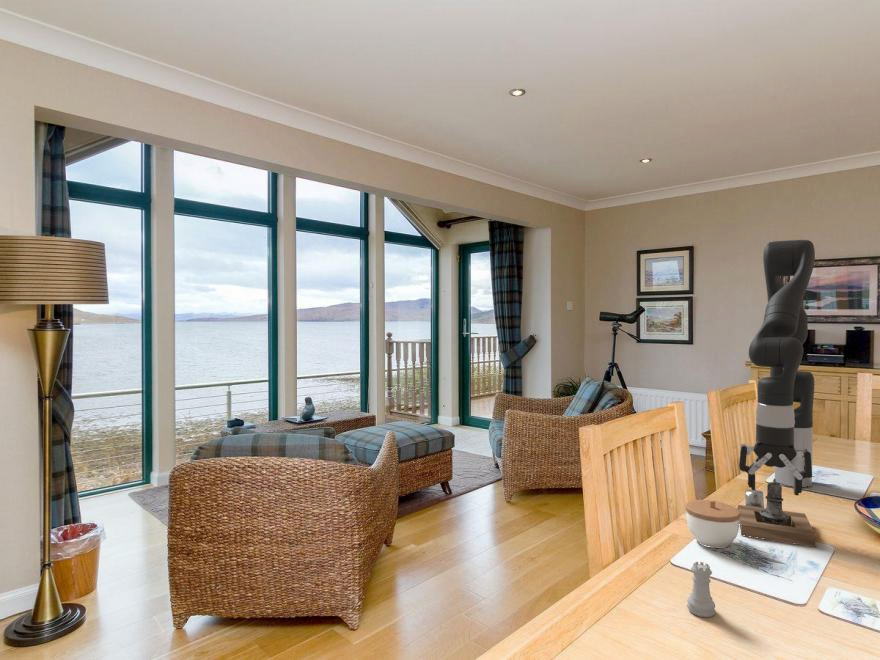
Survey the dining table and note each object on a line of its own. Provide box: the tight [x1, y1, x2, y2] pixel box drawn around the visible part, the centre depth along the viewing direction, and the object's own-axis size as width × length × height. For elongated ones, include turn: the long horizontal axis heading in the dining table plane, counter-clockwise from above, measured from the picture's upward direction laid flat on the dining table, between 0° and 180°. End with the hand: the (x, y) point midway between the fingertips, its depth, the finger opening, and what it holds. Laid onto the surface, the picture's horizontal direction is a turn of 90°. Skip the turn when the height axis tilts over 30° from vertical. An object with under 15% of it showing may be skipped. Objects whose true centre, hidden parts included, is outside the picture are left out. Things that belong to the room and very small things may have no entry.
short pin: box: [744, 488, 765, 508], centre depth 136 cm, size 4×4×5 cm
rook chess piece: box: [686, 561, 716, 618], centre depth 91 cm, size 4×4×8 cm
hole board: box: [737, 504, 817, 548], centre depth 125 cm, size 14×14×2 cm
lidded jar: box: [685, 499, 740, 549], centre depth 118 cm, size 11×11×9 cm
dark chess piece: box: [760, 478, 789, 526], centre depth 125 cm, size 6×6×12 cm
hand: (774, 491), depth 125 cm, fingers open, 8 cm apart
